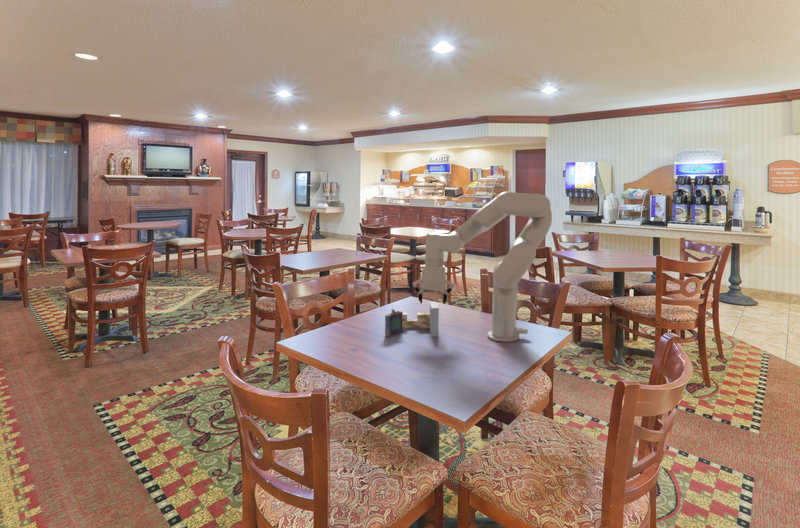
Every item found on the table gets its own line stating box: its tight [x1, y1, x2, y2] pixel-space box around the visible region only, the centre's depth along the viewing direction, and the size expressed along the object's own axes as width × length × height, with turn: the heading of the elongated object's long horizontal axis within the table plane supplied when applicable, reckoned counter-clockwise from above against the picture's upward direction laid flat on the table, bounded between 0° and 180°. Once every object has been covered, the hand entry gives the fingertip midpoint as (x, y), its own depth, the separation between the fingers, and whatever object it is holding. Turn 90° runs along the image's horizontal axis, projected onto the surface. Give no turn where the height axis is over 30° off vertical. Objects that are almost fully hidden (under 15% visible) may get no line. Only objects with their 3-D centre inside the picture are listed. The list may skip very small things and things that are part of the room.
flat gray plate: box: [429, 301, 440, 337], centre depth 187 cm, size 10×3×12 cm, turn 0°
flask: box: [384, 308, 403, 338], centre depth 185 cm, size 9×3×11 cm, turn 134°
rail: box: [388, 312, 430, 329], centre depth 195 cm, size 20×3×6 cm, turn 90°
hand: (432, 302), depth 186 cm, fingers open, 9 cm apart
